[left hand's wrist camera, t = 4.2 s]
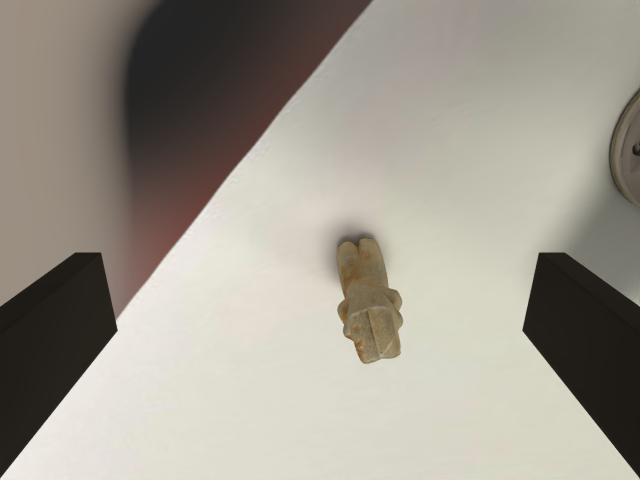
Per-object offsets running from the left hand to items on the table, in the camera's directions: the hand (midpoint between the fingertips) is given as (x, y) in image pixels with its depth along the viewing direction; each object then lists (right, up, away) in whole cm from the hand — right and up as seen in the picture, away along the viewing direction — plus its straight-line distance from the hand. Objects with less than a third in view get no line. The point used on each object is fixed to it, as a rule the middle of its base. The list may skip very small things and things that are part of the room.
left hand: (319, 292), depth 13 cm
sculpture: (+4, -1, +33) cm, 33 cm away
